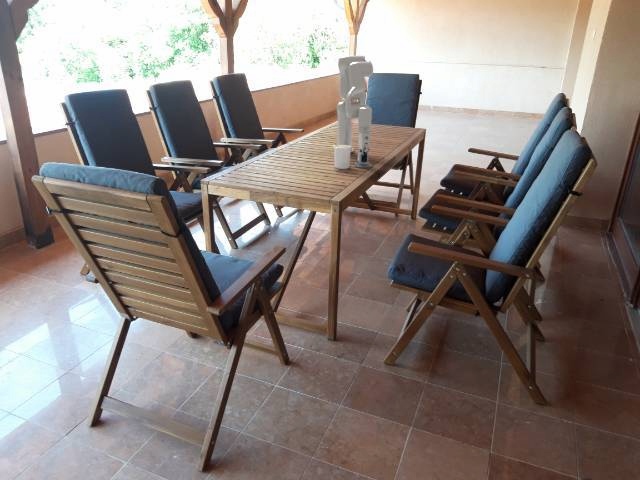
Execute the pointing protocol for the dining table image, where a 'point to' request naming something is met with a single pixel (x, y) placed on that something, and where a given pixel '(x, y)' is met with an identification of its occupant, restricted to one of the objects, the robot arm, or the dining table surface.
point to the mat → (362, 165)
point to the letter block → (361, 157)
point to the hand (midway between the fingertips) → (362, 160)
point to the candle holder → (342, 156)
